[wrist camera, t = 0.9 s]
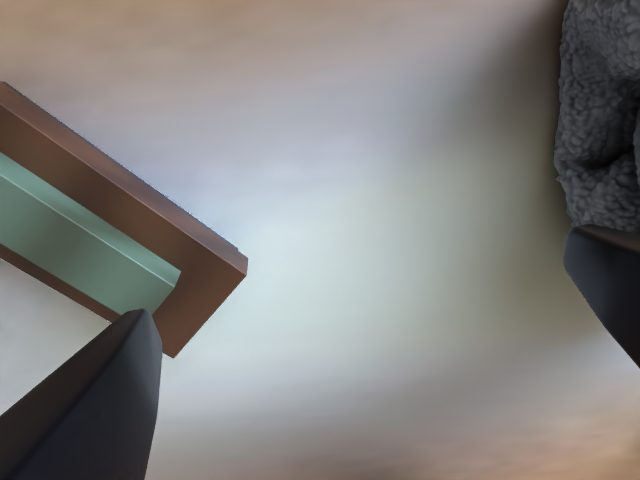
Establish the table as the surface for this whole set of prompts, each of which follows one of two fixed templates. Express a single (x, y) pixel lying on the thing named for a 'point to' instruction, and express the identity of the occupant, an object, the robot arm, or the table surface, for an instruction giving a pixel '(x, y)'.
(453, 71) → the table surface
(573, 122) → the koala plush
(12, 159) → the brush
